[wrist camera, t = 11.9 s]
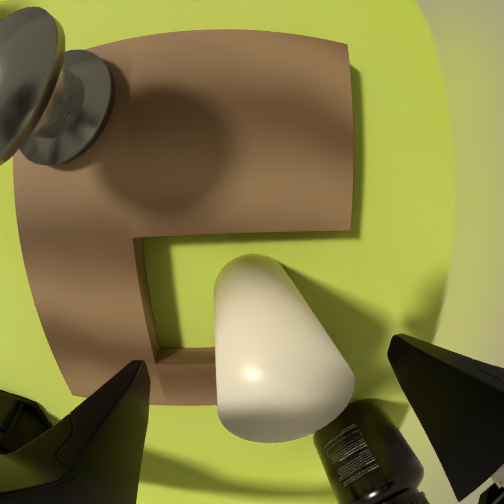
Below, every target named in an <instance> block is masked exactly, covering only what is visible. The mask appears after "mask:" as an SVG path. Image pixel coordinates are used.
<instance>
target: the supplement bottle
mask: <svg viewBox="0 0 504 504" xmlns="http://www.w3.org/2000/svg"><path fill="white" fill-rule="evenodd" d="M313 440H314V444H315V447H316V449H317V452H318V454H319V457H320V459H321V462H322V464H323V467H324V469H325V472H326V474H327V477H328V479H329V482H330V484H331V487H332V489H333V492H334V494H335V497H336V499H337V502H338V504H429V502H428V500H427V499H426V497H425V493H424V492H419V491H418V489H417V488H418V486H419V484H420V483H421V481H422V479H423V476H424V468H423V466H422V464H421V463H420V461H419V460H418V458H417V457H416V455H415V453H414V452H413V451H412V449H411V447H410V446H409V445H408V443H407V442H406V440H405V439H404V437H403V436H402V434H401V433H400V431H399V430H398V428H397V427H396V425H395V424H394V422H393V421H392V419H391V418H390V416H389V415H388V413H387V412H386V411H385V409H384V408H383V407H382V405H381V404H379V403H378V402H376V401H371V400H364V401H358V402H355V403H352V404H349V405H347V406H346V408H345V409H344V410H343V411H342V412H341V413H340V414H339V415H338V416H337V417H336V418H335V419H334V420H333V421H331V422H330V423H329V424H327V425H326V426H324V427H323V428H321V429H319V430H317V431H316V432H315V433H314V437H313Z"/></svg>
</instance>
